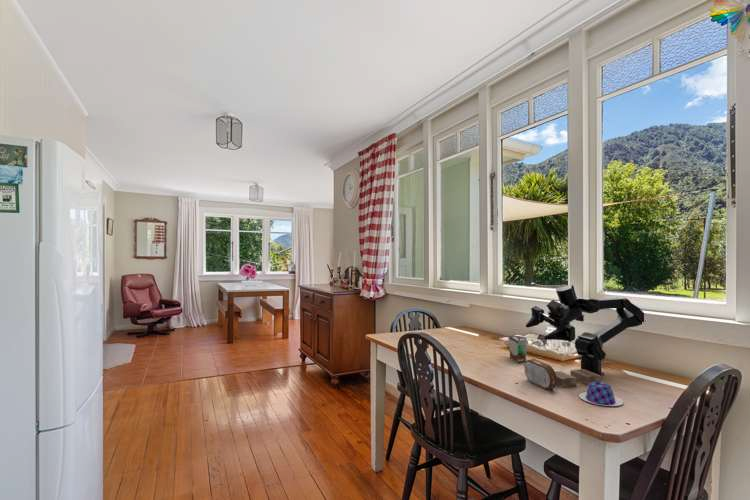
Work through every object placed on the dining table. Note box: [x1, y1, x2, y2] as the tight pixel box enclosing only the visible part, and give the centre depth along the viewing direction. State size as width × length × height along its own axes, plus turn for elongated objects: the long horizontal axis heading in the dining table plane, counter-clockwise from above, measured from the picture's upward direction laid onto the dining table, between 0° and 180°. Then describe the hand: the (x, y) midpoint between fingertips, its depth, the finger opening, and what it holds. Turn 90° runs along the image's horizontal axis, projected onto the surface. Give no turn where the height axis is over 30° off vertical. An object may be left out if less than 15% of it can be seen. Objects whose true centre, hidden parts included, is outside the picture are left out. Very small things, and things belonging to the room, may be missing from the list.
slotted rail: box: [555, 368, 602, 388], centre depth 134 cm, size 16×8×3 cm, turn 102°
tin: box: [523, 358, 558, 390], centre depth 131 cm, size 15×3×8 cm, turn 13°
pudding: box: [578, 381, 624, 407], centre depth 117 cm, size 12×12×5 cm
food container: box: [508, 334, 529, 364], centre depth 164 cm, size 12×6×10 cm, turn 179°
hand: (535, 332), depth 139 cm, fingers open, 9 cm apart
